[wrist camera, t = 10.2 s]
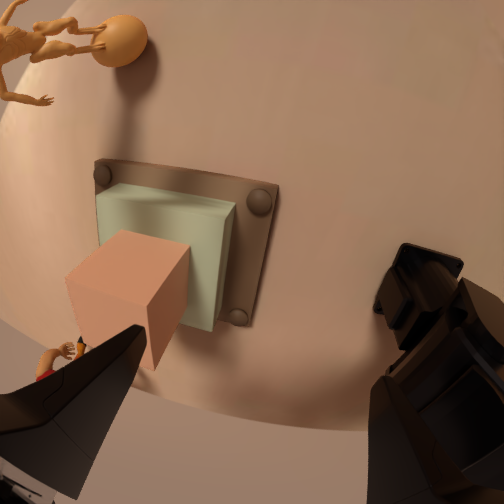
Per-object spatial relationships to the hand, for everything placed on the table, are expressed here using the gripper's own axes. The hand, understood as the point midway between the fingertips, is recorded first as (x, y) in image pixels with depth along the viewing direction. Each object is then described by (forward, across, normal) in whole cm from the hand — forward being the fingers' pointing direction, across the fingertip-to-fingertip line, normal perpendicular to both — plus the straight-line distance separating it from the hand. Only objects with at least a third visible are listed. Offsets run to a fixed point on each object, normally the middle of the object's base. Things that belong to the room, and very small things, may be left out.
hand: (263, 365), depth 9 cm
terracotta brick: (+8, +8, +3) cm, 12 cm away
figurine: (+12, +14, -12) cm, 22 cm away
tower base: (+12, +8, +3) cm, 15 cm away
